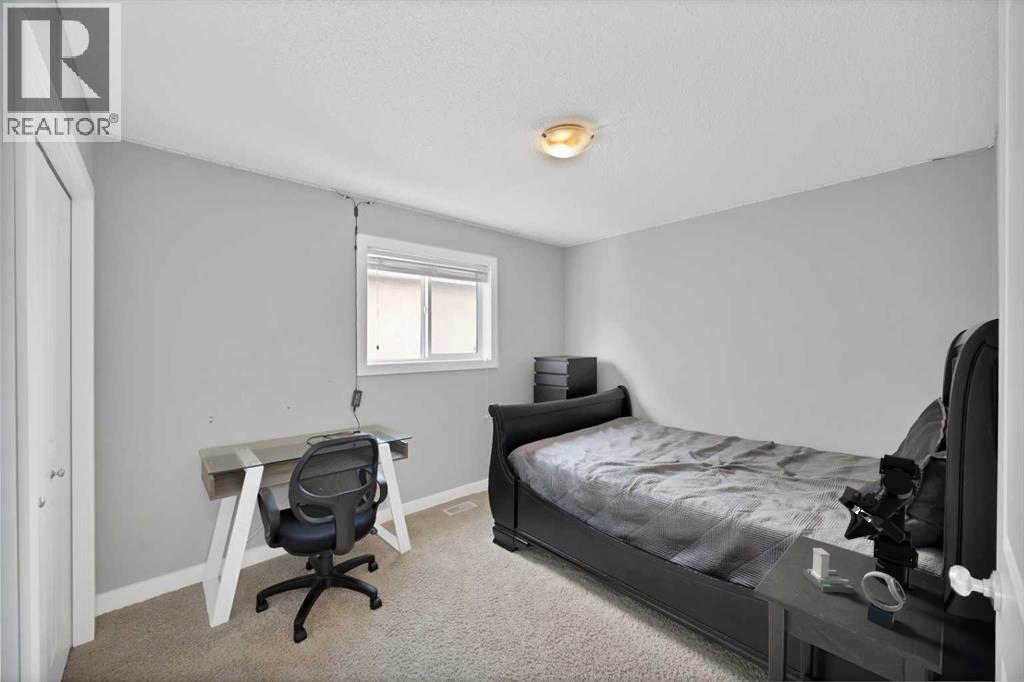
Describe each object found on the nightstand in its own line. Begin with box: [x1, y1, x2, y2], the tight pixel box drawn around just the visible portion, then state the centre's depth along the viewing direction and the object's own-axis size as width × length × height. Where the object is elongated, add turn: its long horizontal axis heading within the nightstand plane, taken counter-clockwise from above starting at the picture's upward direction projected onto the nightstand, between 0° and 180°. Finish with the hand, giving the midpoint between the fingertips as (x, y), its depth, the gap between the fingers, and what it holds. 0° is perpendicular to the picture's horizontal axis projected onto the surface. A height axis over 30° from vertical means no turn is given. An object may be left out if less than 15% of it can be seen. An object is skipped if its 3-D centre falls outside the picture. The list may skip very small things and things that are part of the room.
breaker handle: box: [811, 547, 831, 580], centre depth 115 cm, size 3×3×7 cm
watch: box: [861, 570, 907, 631], centre depth 100 cm, size 6×8×11 cm
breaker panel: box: [802, 568, 855, 594], centre depth 115 cm, size 8×8×2 cm
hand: (846, 538), depth 115 cm, fingers closed
